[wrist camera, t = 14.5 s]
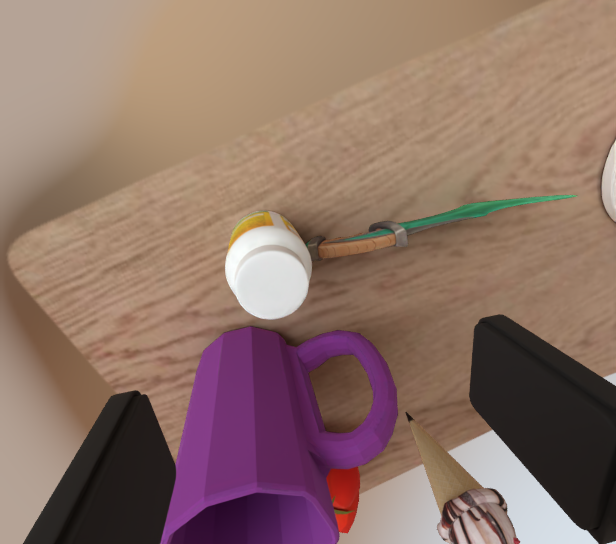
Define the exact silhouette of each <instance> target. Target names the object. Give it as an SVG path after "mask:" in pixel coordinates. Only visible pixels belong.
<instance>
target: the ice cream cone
mask: <svg viewBox="0 0 616 544" xmlns="http://www.w3.org/2000/svg"><path fill="white" fill-rule="evenodd" d="M406 415H407V418H408V421H409V424H410V427H411V430H412V432H413V435H414V438H415V441H416V444H417V447H418V450H419V453H420V456H421V458H422V461H423V464H424V467H425V470H426V473H427V476H428V479H429V481H430V484H431V487H432V490H433V493H434V496H435V499H436V502H437V505H438V507H439V510H440V513H441V520H440V523H439V524H438V525H437V530H438V532H439V534H440V536H441V537H442V538H443V540H444V541H446V542H448V543H450V544H519V543H520V541H519V540H518V538H516V534H515V530H514V527H513V525H512V522H511V521H510V519H509V517H508V515H507V504H506V502H505V500H504V498H503V497H502V495H501V494H499V492H498V491H497V490H495V489H490V488H483V487H482V486H481V485H480V484H479V483H478V482H477V481H476V480H475V479H474V478H473V477H472V476H471V475H470V474H469V473H468V472H467V471H466V470H465V469H464V468H463V467H462V466H461V465H460V464H459V463H458V462H456V460H455V459H454V458H453V457H451V455H449V453H448V452H446V451H445V450H444V449H443V448H442V447H441V446H440V445H439V444H438V443H437V442H436V441H435V440H434V439H433V438H432V437H431V436H430V435H429V434H428V433H427V432H426V431H425V430H424V429H423V428H422V427H421V426H420V425H419V424H418V423H417V422H416V421H415V420H414V419H413V418H412V417H411V416H410V415H409V414H408V413H407V412H406Z"/></svg>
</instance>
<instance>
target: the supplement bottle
mask: <svg viewBox="0 0 616 544" xmlns="http://www.w3.org/2000/svg"><path fill="white" fill-rule="evenodd" d="M311 272H312V262H311V257H310V253H309V251H308V249H307V247H306V245H305V244H304V242H303V240H302V239H301V237H300V236H299V234H298V233H297V231H296V230H295V228H294V227H293V226H292V224H291V223H290V222H289V221H288V220H287V219H286V218H285V217H283V216H282V215H280V214H278V213H275V212H272V211H257V212H254V213H251V214H249V215H247V216H245V217H244V218H242V219H241V220H240V221H239V222H238V223H237V225H236V226H235V228H234V230H233V232H232V235H231V239H230V243H229V248H228V253H227V257H226V263H225V273H226V278H227V281H228V284H229V286H230V288H231V290H232V291H233V292H234V294H235V295H236V296H237V299H238V301H239V303H240V304H241V306H242V307H243V308H244V309H245V310H246V311H247V312H249V313H250V314H252V315H254V316H256V317H258V318H262V319H279V318H283V317H285V316H288V315H290V314H291V313H293V312H294V311H296V310H297V309H298V308H299V307H300V306H301V304H302V303H303V302H304V300H305V298H306V296H307V293H308V288H309V280H310V277H311Z"/></svg>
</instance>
